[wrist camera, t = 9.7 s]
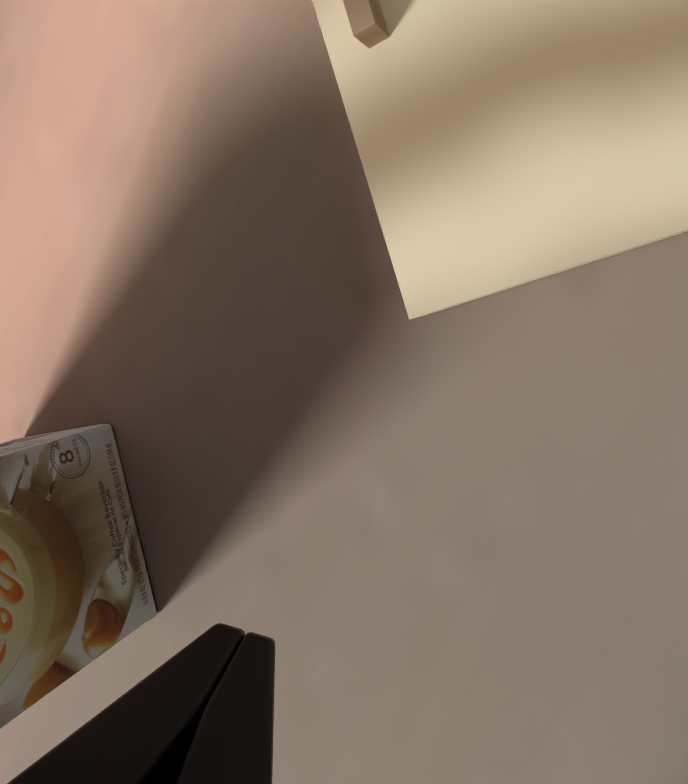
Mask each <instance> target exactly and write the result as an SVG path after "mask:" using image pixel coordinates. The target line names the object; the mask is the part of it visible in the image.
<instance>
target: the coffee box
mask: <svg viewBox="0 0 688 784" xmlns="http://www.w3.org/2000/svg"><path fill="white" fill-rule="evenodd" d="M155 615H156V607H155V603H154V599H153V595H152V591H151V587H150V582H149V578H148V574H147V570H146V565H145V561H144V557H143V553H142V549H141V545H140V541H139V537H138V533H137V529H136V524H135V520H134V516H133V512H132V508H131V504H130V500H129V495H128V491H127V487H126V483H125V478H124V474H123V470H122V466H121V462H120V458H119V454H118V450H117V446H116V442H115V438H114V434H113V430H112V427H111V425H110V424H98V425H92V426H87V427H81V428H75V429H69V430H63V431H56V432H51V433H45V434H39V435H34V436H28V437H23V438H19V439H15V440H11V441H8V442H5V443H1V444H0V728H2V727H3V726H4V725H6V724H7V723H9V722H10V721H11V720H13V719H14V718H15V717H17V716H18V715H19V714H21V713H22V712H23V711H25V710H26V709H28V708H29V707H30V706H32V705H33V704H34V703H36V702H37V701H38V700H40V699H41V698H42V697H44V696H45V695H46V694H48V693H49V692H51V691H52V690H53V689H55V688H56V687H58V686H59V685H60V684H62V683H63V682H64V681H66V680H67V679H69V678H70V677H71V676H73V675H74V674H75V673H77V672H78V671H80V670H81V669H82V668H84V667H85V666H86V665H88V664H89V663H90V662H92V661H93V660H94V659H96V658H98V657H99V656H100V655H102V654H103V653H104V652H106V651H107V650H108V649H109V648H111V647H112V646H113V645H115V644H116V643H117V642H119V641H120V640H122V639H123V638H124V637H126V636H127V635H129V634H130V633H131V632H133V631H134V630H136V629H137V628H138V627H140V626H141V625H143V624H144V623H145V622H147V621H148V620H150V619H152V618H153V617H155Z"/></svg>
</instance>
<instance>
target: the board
mask: <svg viewBox="0 0 688 784" xmlns="http://www.w3.org/2000/svg"><path fill="white" fill-rule="evenodd" d="M312 1H313V4H314V8H315V11H316V14H317V18H318V21H319V24H320V27H321V31H322V34H323V37H324V41H325V44H326V47H327V50H328V54H329V57H330V60H331V64H332V67H333V70H334V73H335V77H336V80H337V83H338V87H339V90H340V93H341V96H342V100H343V103H344V106H345V110H346V113H347V116H348V119H349V123H350V126H351V129H352V133H353V136H354V139H355V143H356V146H357V149H358V152H359V156H360V159H361V162H362V166H363V169H364V172H365V175H366V179H367V182H368V185H369V189H370V192H371V195H372V198H373V202H374V205H375V208H376V212H377V215H378V218H379V221H380V225H381V228H382V231H383V235H384V238H385V241H386V245H387V248H388V251H389V254H390V258H391V261H392V264H393V268H394V271H395V274H396V277H397V281H398V284H399V287H400V291H401V294H402V297H403V300H404V304H405V307H406V310H407V314H408V317H409V320H410V319H413V318H417V317H421V316H424V315H428V314H432V313H435V312H438V311H441V310H445V309H448V308H451V307H454V306H457V305H460V304H463V303H466V302H469V301H473V300H476V299H479V298H482V297H485V296H488V295H491V294H494V293H498V292H501V291H504V290H507V289H510V288H513V287H516V286H519V285H522V284H526V283H529V282H532V281H535V280H538V279H541V278H544V277H547V276H551V275H554V274H557V273H560V272H563V271H566V270H569V269H572V268H575V267H579V266H582V265H585V264H588V263H591V262H594V261H597V260H600V259H604V258H607V257H610V256H613V255H616V254H619V253H622V252H625V251H628V250H632V249H635V248H638V247H641V246H644V245H647V244H650V243H653V242H657V241H660V240H663V239H666V238H669V237H672V236H675V235H678V234H681V233H685V232H688V0H312Z"/></svg>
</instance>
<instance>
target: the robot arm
mask: <svg viewBox="0 0 688 784" xmlns="http://www.w3.org/2000/svg"><path fill="white" fill-rule="evenodd" d="M274 678H275V641H274V640H273V639H272V638H270V637H266V636H263V635H259V634H256V633H253V632H249V633H247V634H245V632H244V631H243V630H242V629H239V628H236V627H233V626H229V625H226V624H221V623H219V624H216V625H214V626H212V627H211V628H210V629H209V630H207V631H206V632H205V633H203V634H202V635H201V636H199V637H198V638H197V639H195V640H194V641H193V642H192V643H190V644H189V645H188V646H186V647H185V648H184V649H182V650H181V651H180V652H178V653H177V654H176V655H175V656H173V657H172V658H171V659H169V660H168V661H167V662H165V663H164V664H163V665H162V666H160V667H159V668H158V669H156V670H155V671H154V672H152V673H151V674H150V675H148V676H147V677H146V678H145V679H143V680H142V681H141V682H139V683H138V684H137V685H135V686H134V687H133V688H131V689H130V690H129V691H128V692H126V693H125V694H124V695H122V696H121V697H120V698H118V699H117V700H116V701H115V702H113V703H112V704H111V705H109V706H108V707H107V708H105V709H104V710H103V711H101V712H100V713H99V714H98V715H96V716H95V717H94V718H92V719H91V720H90V721H88V722H87V723H86V724H84V725H83V726H82V727H81V728H79V729H78V730H77V731H75V732H74V733H73V734H71V735H70V736H69V737H68V738H66V739H65V740H64V741H62V742H61V743H60V744H58V745H57V746H56V747H54V748H53V749H52V750H51V751H49V752H48V753H47V754H45V755H44V756H43V757H41V758H40V759H39V760H37V761H36V762H35V763H34V764H32V765H31V766H30V767H28V768H27V769H26V770H24V771H23V772H22V773H20V774H19V775H18V776H17V777H15V778H14V779H13V780H11V781H10V782H9V783H7V784H272V765H273V722H274Z"/></svg>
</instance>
